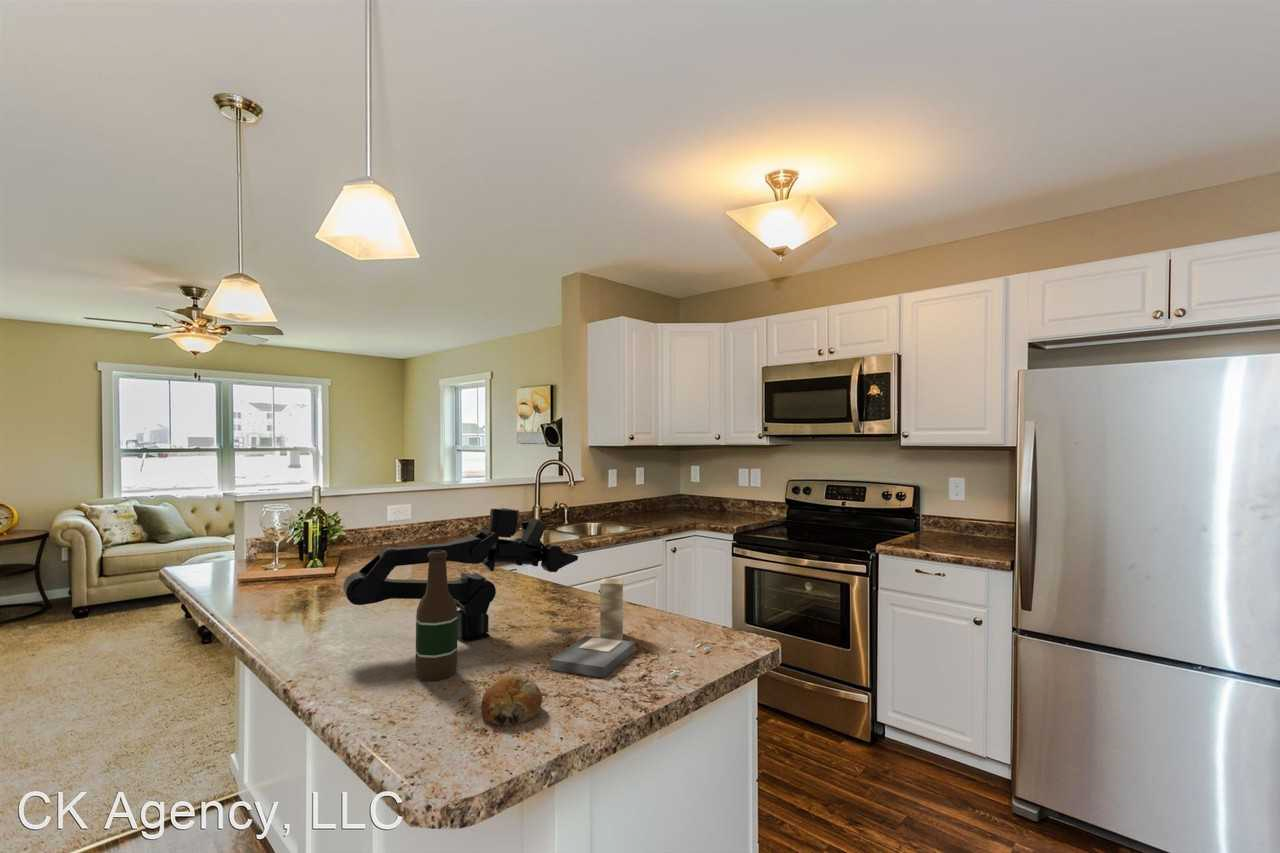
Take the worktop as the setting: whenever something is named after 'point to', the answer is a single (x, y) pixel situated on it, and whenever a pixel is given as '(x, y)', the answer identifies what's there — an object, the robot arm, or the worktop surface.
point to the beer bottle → (436, 624)
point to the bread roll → (511, 700)
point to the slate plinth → (593, 656)
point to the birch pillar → (611, 608)
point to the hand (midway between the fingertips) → (569, 555)
